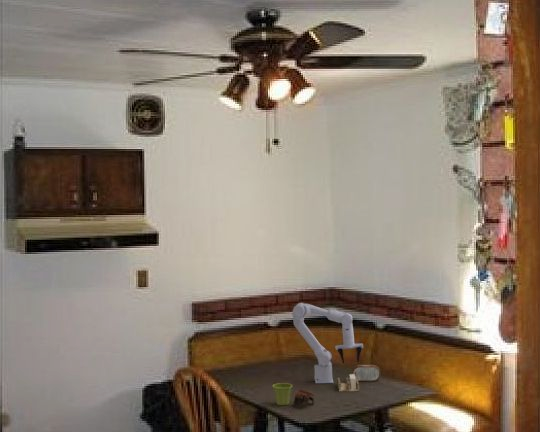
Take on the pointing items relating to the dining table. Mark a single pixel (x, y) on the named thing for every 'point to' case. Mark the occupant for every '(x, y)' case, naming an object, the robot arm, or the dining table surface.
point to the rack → (347, 385)
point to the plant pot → (282, 393)
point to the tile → (352, 381)
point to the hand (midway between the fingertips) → (350, 362)
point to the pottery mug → (305, 399)
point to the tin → (366, 372)
